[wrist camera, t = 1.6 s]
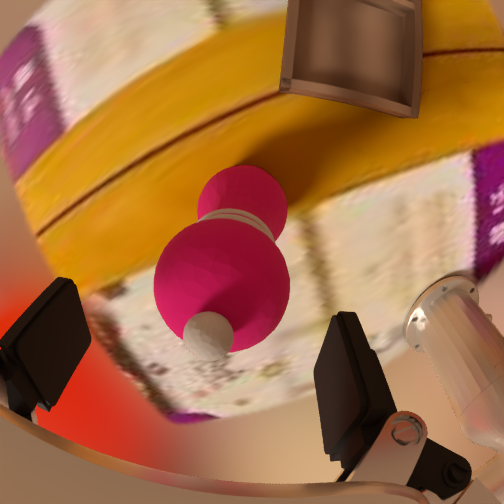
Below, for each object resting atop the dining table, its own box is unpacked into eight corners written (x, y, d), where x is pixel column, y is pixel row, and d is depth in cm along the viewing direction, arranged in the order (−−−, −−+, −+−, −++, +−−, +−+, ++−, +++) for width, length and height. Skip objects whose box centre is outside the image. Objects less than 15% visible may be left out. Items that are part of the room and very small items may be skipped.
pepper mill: (224, 148, 25) (115, 214, 7) (296, 177, 26) (361, 307, 8) (199, 216, 28) (102, 372, 10) (266, 242, 29) (262, 426, 11)
